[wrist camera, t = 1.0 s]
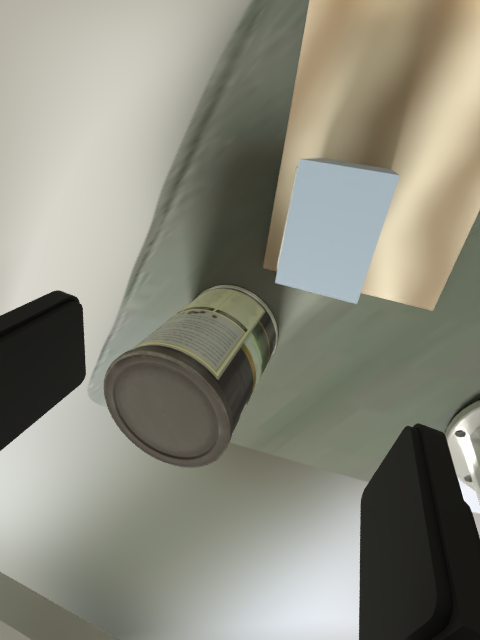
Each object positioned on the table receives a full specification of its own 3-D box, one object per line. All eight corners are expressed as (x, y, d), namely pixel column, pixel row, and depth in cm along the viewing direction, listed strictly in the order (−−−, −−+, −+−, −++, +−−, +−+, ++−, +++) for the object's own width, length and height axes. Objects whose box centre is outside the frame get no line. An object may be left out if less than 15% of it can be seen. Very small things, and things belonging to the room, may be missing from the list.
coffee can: (298, 346, 34) (259, 448, 22) (226, 382, 39) (163, 481, 28) (238, 264, 33) (161, 326, 21) (172, 313, 38) (79, 385, 26)
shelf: (577, -22, 19) (612, -53, 16) (430, 303, 28) (436, 319, 25) (320, -30, 22) (312, -56, 19) (266, 263, 32) (257, 273, 29)
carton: (391, 169, 24) (400, 175, 16) (361, 262, 27) (356, 303, 20) (317, 157, 25) (293, 157, 18) (297, 248, 28) (269, 281, 21)
